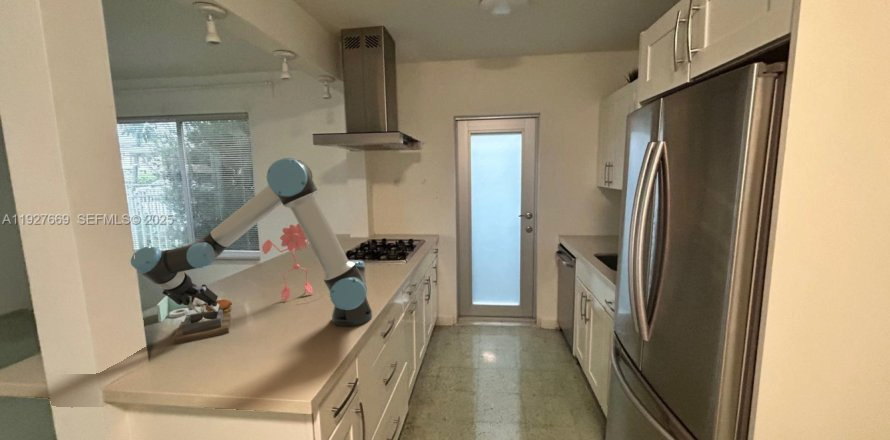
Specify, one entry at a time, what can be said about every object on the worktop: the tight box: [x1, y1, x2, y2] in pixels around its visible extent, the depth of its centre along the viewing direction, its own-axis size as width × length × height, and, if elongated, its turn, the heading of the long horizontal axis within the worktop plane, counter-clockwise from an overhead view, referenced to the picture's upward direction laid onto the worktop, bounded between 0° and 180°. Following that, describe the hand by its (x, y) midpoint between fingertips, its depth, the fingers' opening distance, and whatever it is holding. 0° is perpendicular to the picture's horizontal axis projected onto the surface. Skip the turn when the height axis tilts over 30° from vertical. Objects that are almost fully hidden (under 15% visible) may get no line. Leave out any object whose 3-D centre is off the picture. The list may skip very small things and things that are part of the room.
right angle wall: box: [156, 295, 193, 323], centre depth 146 cm, size 12×12×8 cm
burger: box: [204, 299, 233, 314], centre depth 147 cm, size 10×9×5 cm
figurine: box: [261, 223, 322, 306], centre depth 157 cm, size 15×26×35 cm, turn 131°
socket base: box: [173, 309, 232, 345], centre depth 130 cm, size 16×16×5 cm
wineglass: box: [191, 297, 211, 322], centre depth 129 cm, size 6×6×12 cm
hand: (208, 308), depth 133 cm, fingers closed on wineglass, 6 cm apart
